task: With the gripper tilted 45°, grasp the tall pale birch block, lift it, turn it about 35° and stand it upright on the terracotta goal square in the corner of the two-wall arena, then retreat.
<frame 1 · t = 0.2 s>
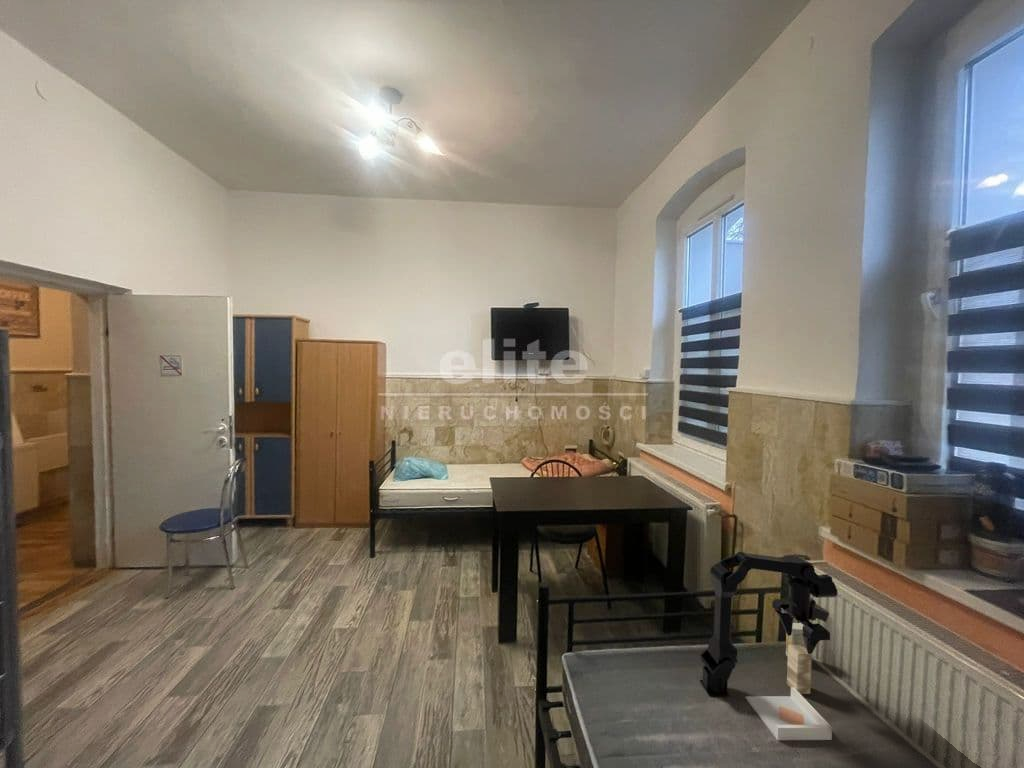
hand: (799, 644, 135), 15 cm above the table, tool pointing down, fingers open, 9 cm apart
skincare box: (797, 659, 150), on the table
birch block: (798, 688, 136), on the table
arena: (791, 719, 123), on the table
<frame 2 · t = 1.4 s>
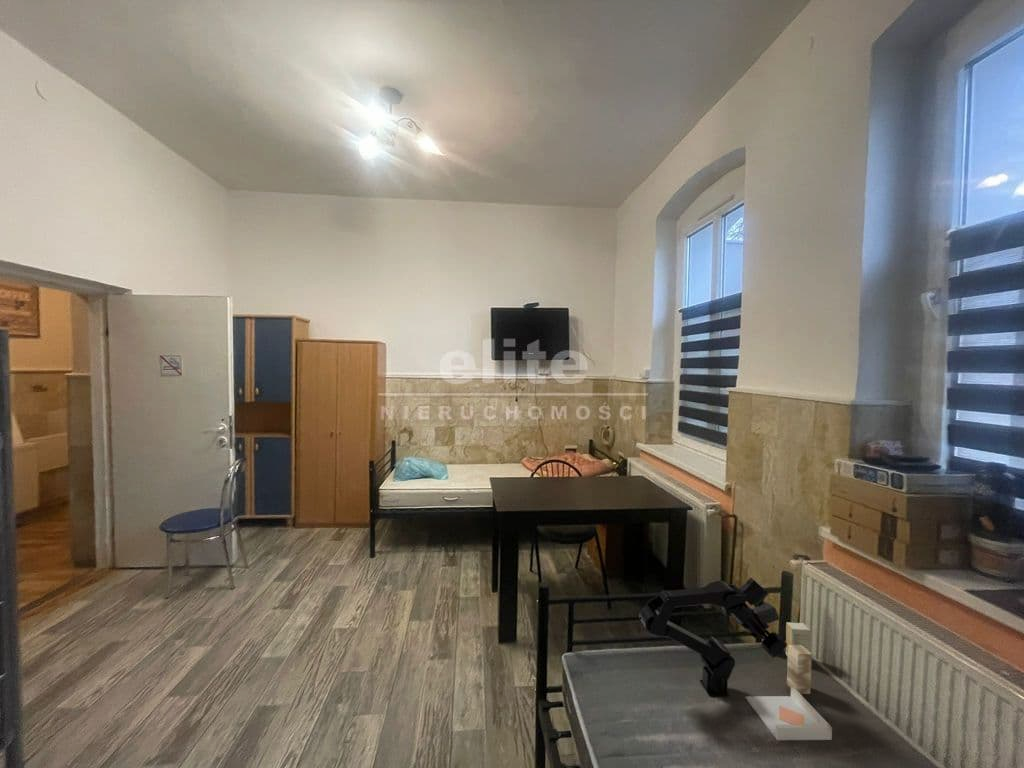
hand: (776, 648, 135), 13 cm above the table, tool tilted 45°, fingers open, 9 cm apart
nothing on the table moved.
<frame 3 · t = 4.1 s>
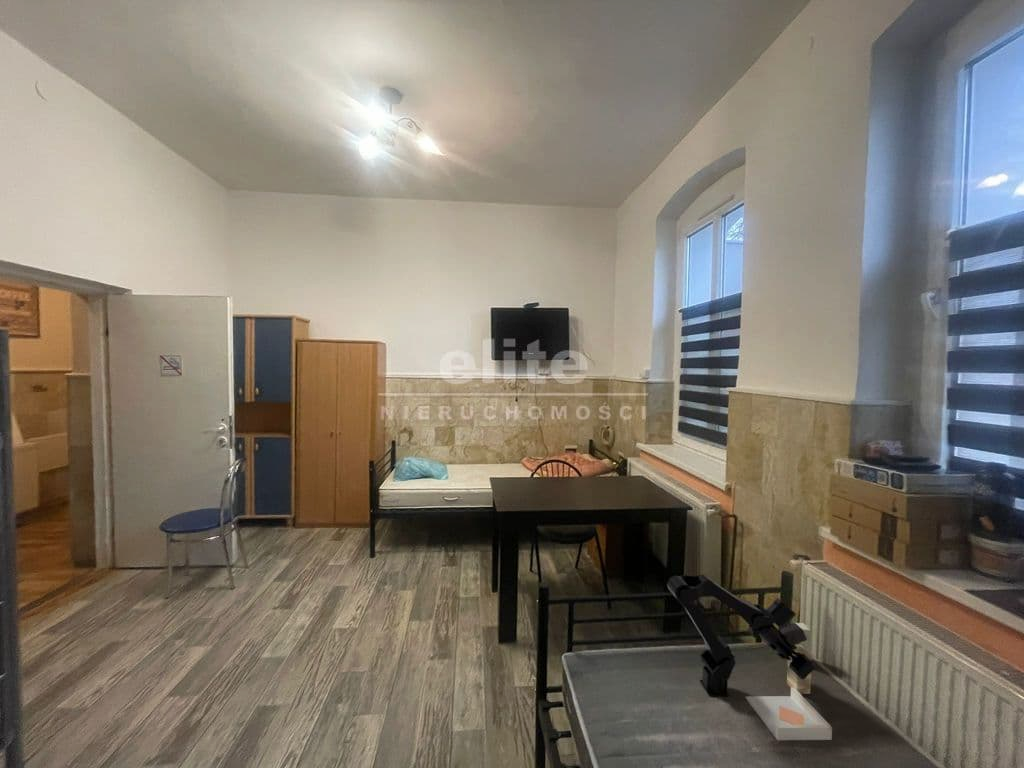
hand: (803, 668, 136), 7 cm above the table, tool tilted 45°, fingers closed on birch block, 4 cm apart
birch block: (798, 688, 136), on the table, touching gripper
everything else where it was.
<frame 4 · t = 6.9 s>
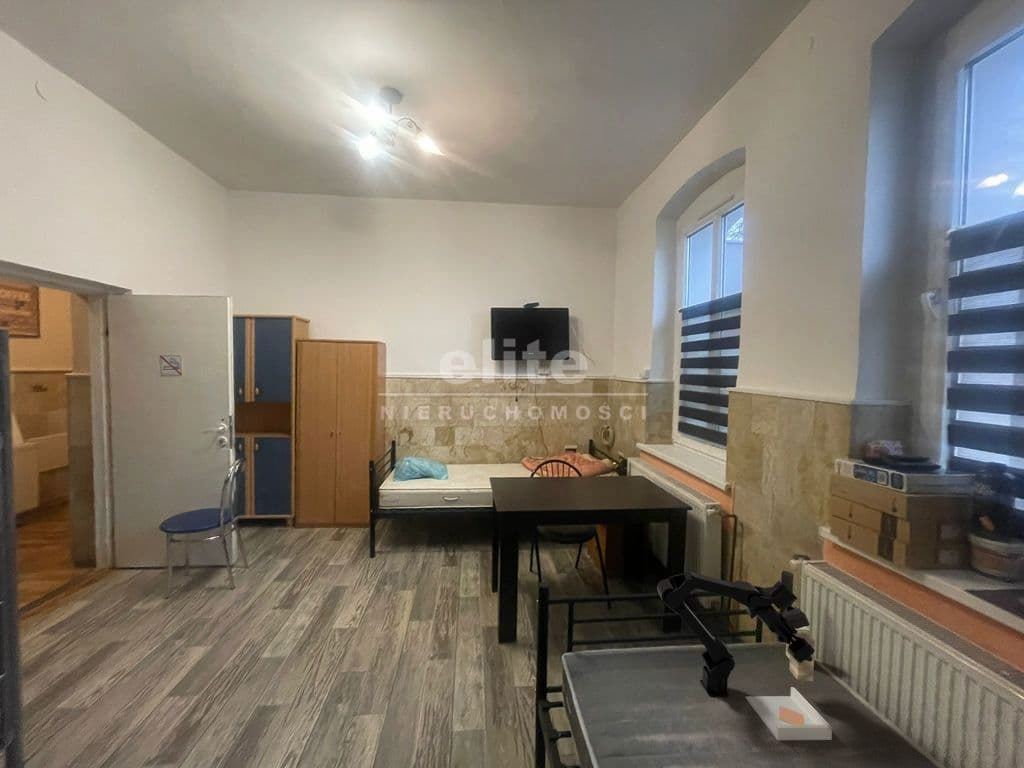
hand: (806, 655, 132), 14 cm above the table, tool tilted 45°, fingers closed on birch block, 4 cm apart
birch block: (800, 675, 132), point 7 cm above the table, touching gripper
everything else where it was.
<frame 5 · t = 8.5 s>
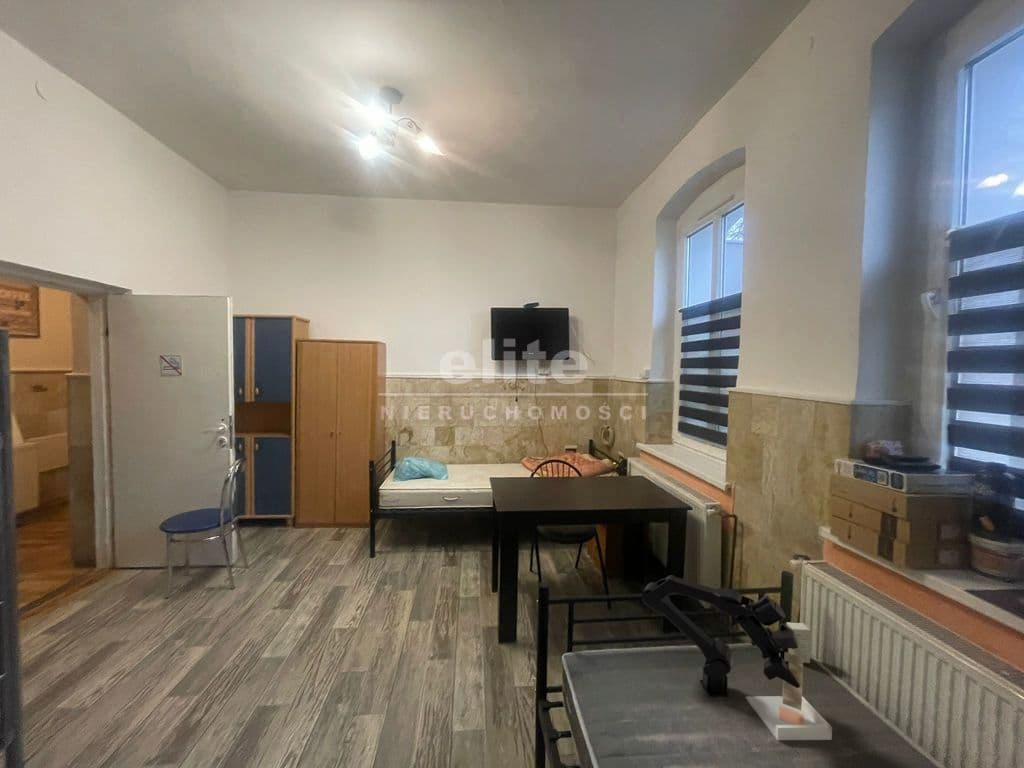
hand: (798, 682, 122), 12 cm above the table, tool tilted 45°, fingers closed on birch block, 4 cm apart
birch block: (791, 702, 123), point 5 cm above the table, touching gripper
everything else where it was.
when the fingers open (8 cm above the table, at t = 9.6 s): birch block stays where it is, resting on arena.
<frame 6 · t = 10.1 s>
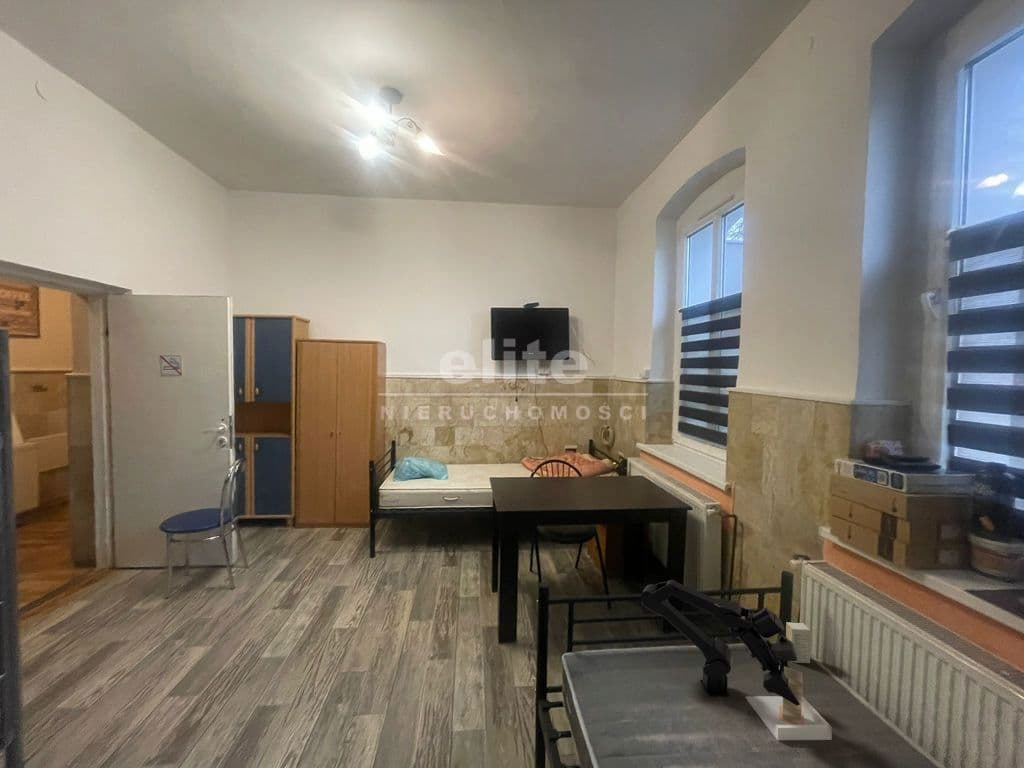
hand: (798, 694, 122), 8 cm above the table, tool tilted 45°, fingers open, 9 cm apart
birch block: (791, 716, 123), point 1 cm above the table, touching arena
everything else where it was.
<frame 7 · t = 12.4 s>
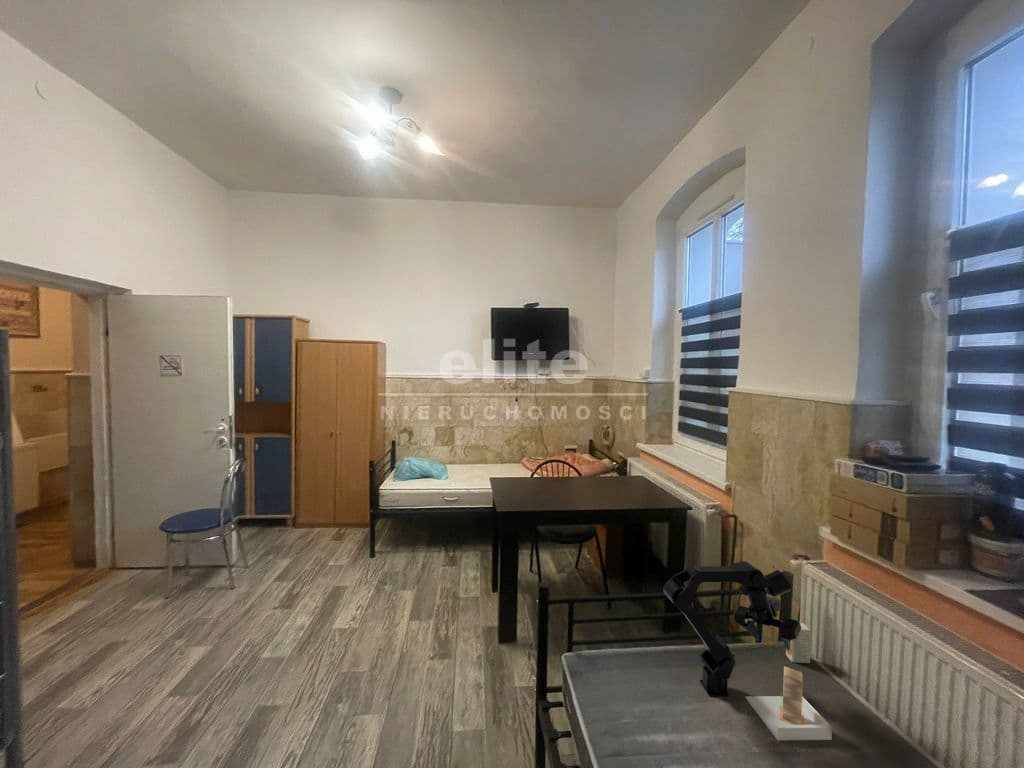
hand: (773, 644, 136), 14 cm above the table, tool tilted 20°, fingers open, 9 cm apart
nothing on the table moved.
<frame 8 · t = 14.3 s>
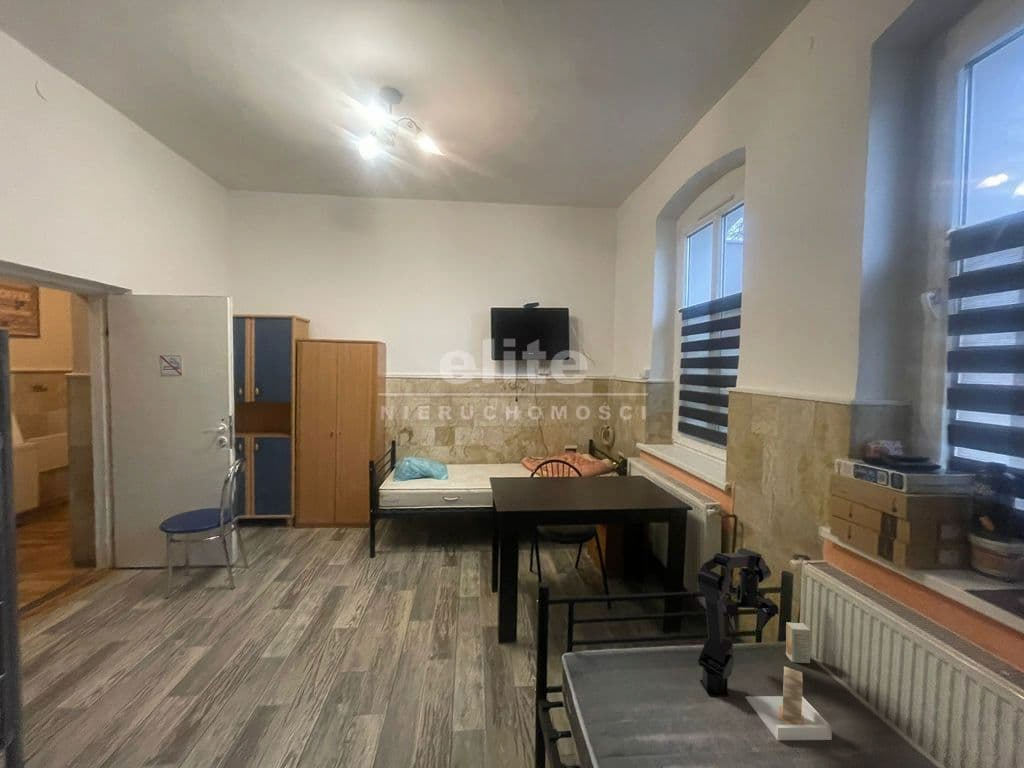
hand: (747, 629, 147), 12 cm above the table, tool pointing down, fingers open, 9 cm apart
nothing on the table moved.
at the end: birch block inside the target area on the arena (0.6 cm from its centre), point 0.7 cm above the arena's base; birch block tilted 0°; the gripper is holding nothing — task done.
